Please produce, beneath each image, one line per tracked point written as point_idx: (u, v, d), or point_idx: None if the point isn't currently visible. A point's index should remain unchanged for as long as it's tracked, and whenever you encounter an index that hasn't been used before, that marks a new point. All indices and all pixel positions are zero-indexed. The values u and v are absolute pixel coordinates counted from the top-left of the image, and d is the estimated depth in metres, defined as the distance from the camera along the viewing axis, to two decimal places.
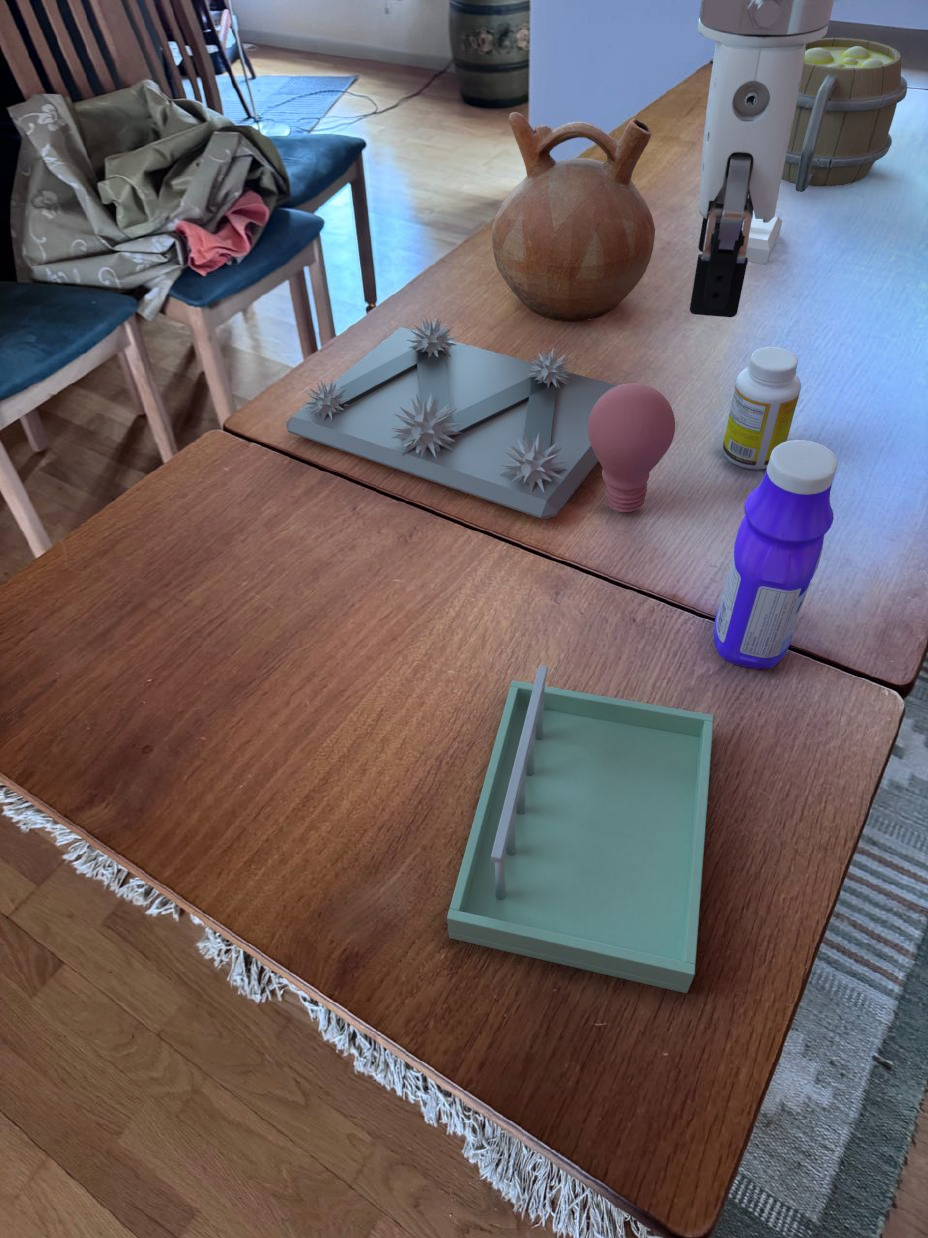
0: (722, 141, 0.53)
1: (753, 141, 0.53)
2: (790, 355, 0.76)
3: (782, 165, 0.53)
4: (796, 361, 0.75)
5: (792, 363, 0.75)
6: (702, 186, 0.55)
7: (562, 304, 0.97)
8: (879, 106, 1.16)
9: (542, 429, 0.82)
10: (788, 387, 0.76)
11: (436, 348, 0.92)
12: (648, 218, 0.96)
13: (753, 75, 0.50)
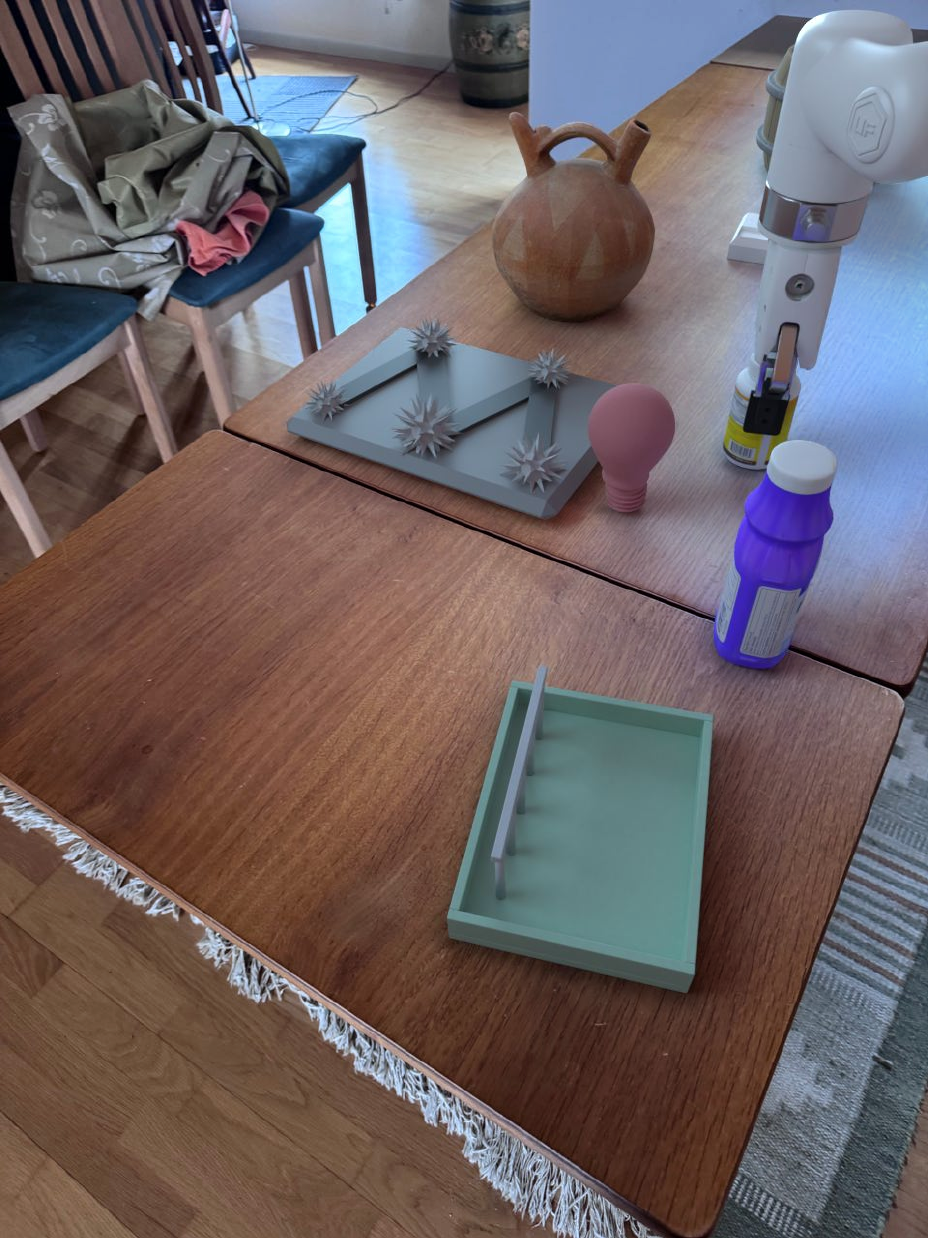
0: (776, 313, 0.68)
1: (798, 323, 0.68)
2: None
3: (822, 331, 0.68)
4: None
5: None
6: (758, 343, 0.71)
7: (562, 304, 0.97)
8: None
9: (542, 429, 0.82)
10: None
11: (436, 348, 0.92)
12: (648, 218, 0.96)
13: (802, 269, 0.66)
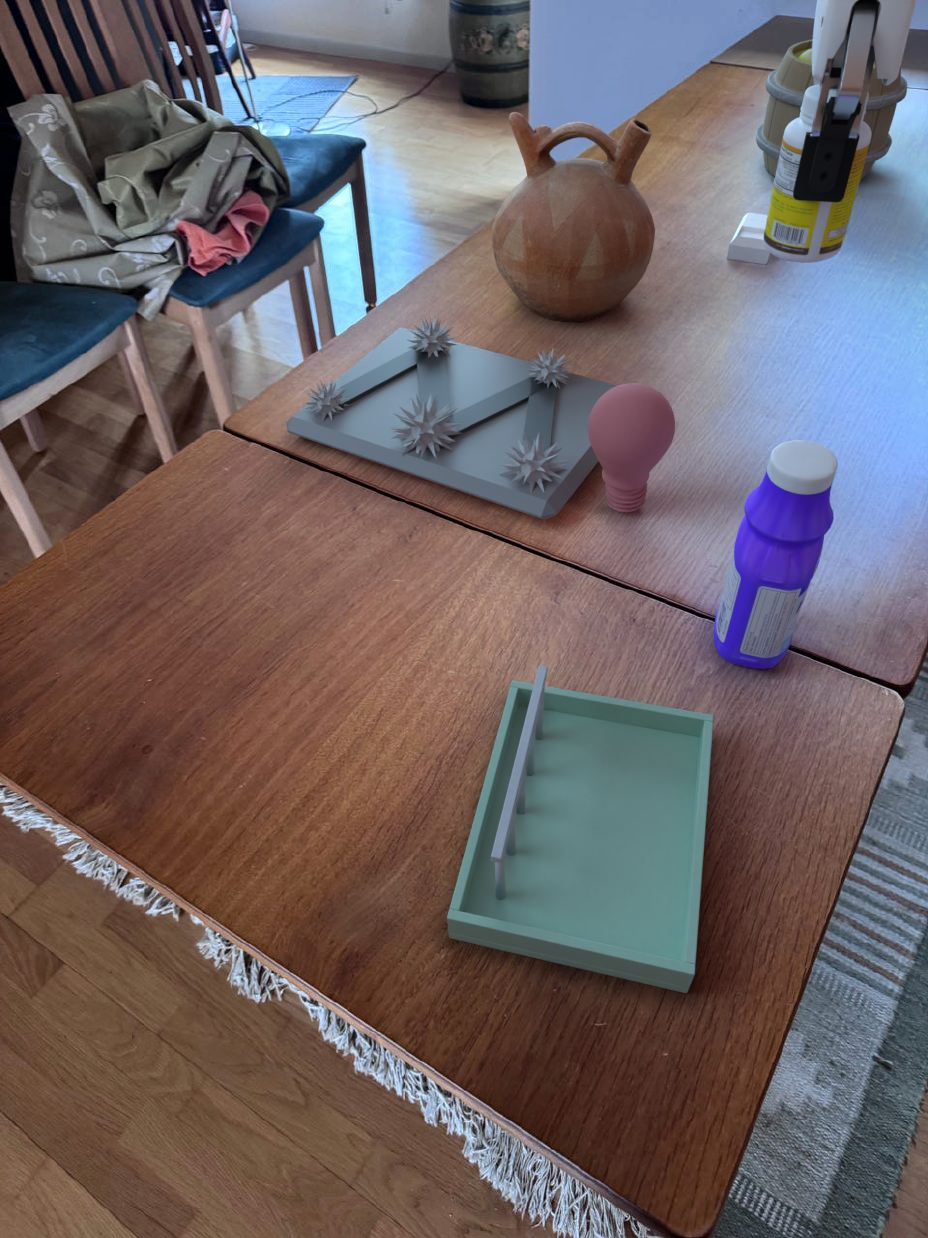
0: None
1: None
2: None
3: (912, 14, 0.49)
4: None
5: None
6: (820, 43, 0.51)
7: (562, 304, 0.97)
8: (879, 106, 1.16)
9: (542, 429, 0.82)
10: None
11: (436, 348, 0.92)
12: (648, 218, 0.96)
13: None
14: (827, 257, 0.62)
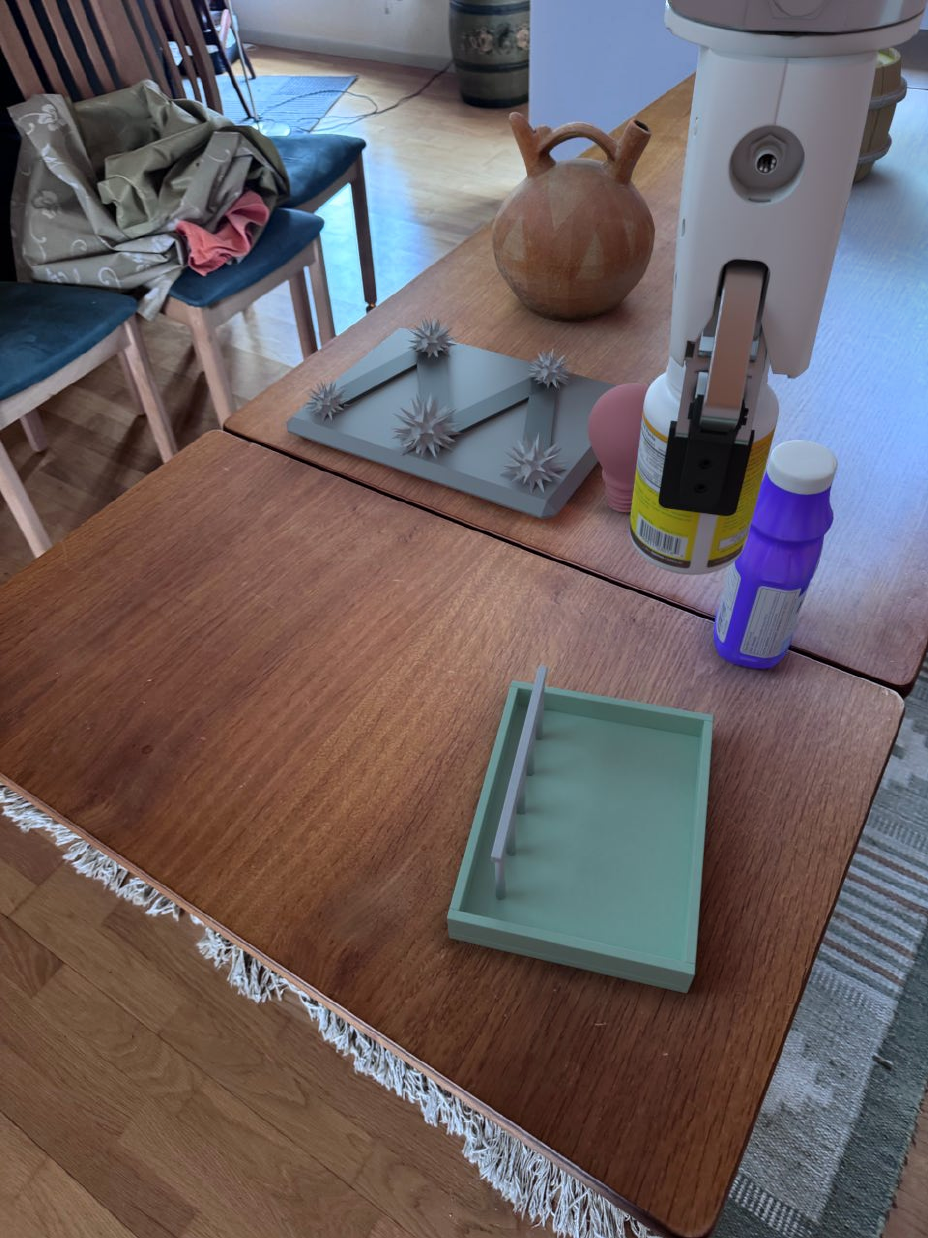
0: (709, 238, 0.27)
1: (766, 262, 0.27)
2: None
3: (826, 284, 0.28)
4: (767, 358, 0.35)
5: None
6: (674, 314, 0.30)
7: (562, 304, 0.97)
8: (879, 106, 1.16)
9: (542, 429, 0.82)
10: None
11: (436, 348, 0.92)
12: (648, 218, 0.96)
13: (771, 114, 0.25)
14: (720, 569, 0.40)
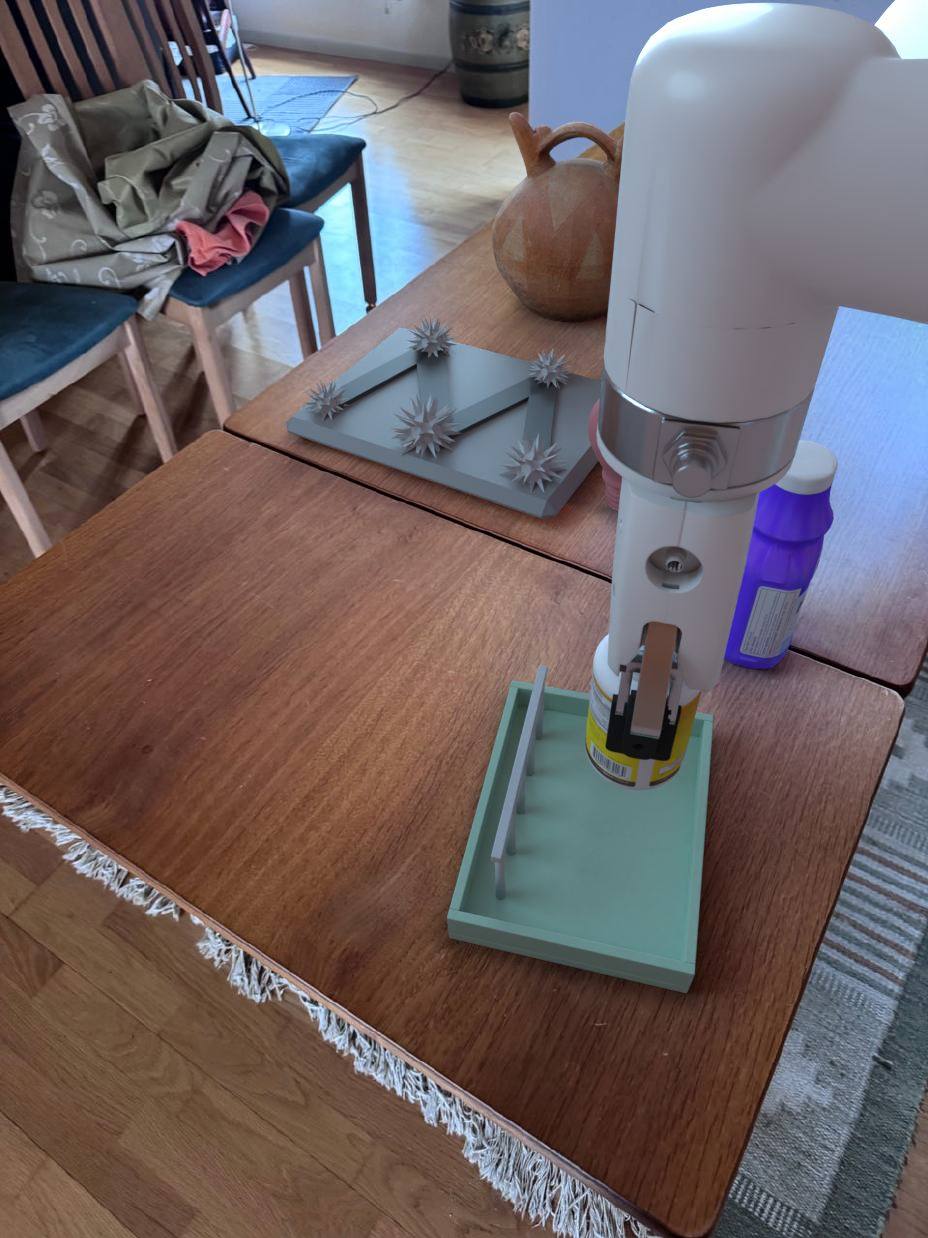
0: (633, 606, 0.34)
1: (677, 628, 0.34)
2: None
3: (726, 639, 0.35)
4: None
5: None
6: (609, 644, 0.37)
7: (562, 304, 0.97)
8: None
9: (542, 429, 0.82)
10: None
11: (436, 348, 0.92)
12: None
13: (676, 540, 0.32)
14: (661, 785, 0.48)
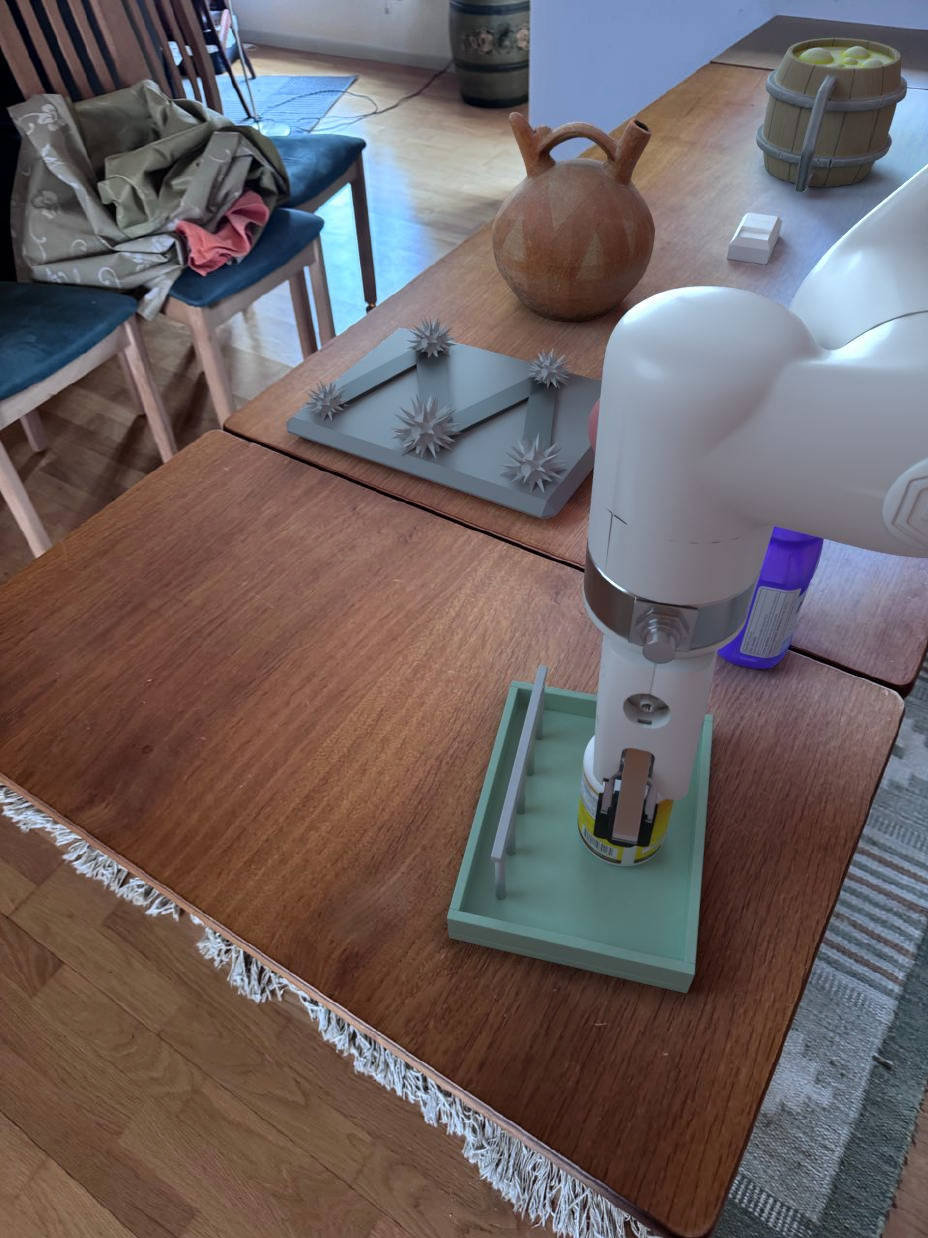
0: (613, 735, 0.41)
1: (651, 754, 0.41)
2: None
3: (692, 762, 0.41)
4: None
5: None
6: (594, 760, 0.43)
7: (562, 304, 0.97)
8: (879, 106, 1.16)
9: (542, 429, 0.82)
10: None
11: (436, 348, 0.92)
12: (648, 218, 0.96)
13: (647, 689, 0.38)
14: None
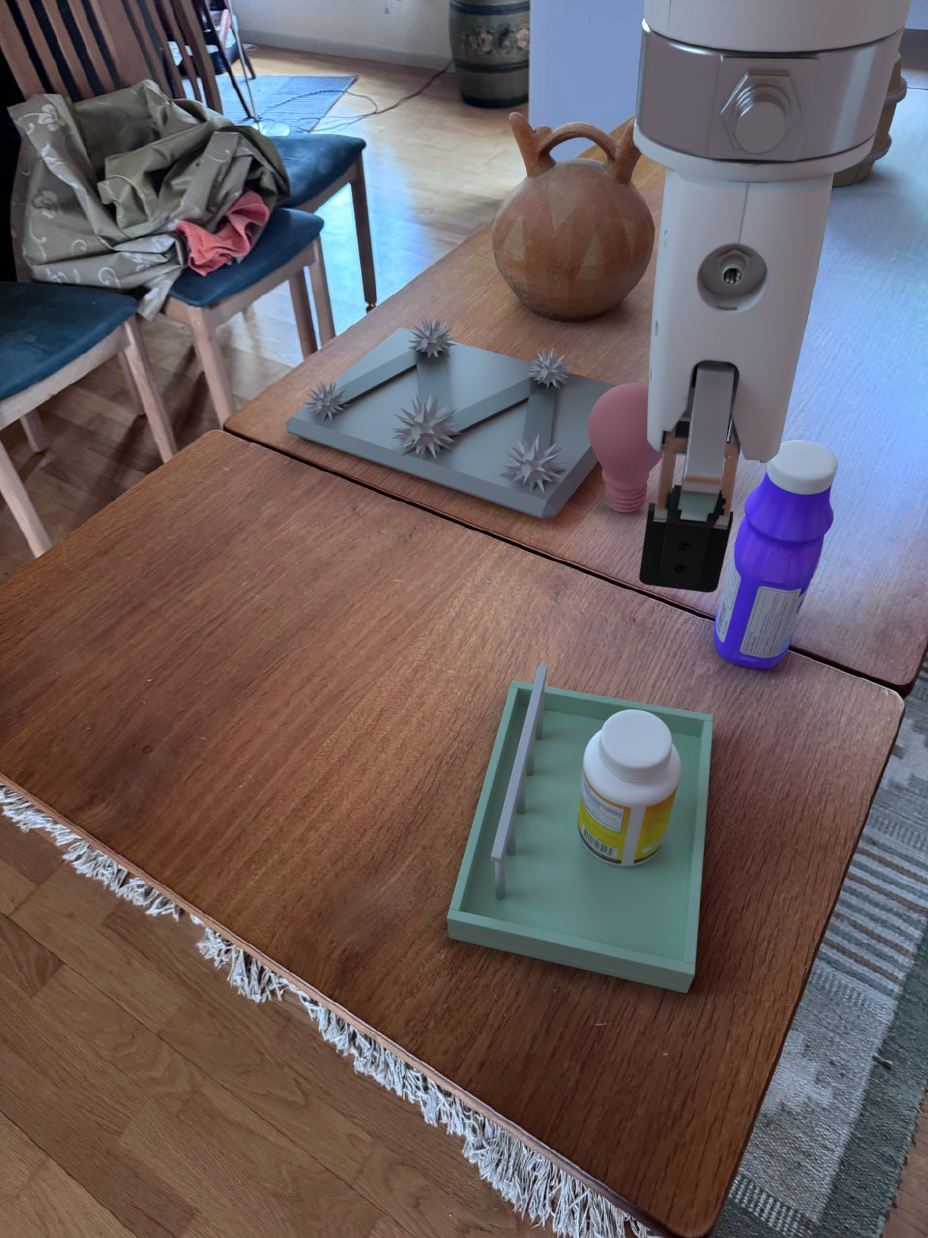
0: (681, 341, 0.29)
1: (738, 344, 0.28)
2: (662, 731, 0.49)
3: (792, 381, 0.29)
4: (669, 746, 0.48)
5: (662, 751, 0.48)
6: (650, 406, 0.31)
7: (562, 304, 0.97)
8: None
9: (542, 429, 0.82)
10: (658, 781, 0.49)
11: (435, 348, 0.92)
12: (648, 218, 0.96)
13: (735, 234, 0.26)
14: (644, 861, 0.54)
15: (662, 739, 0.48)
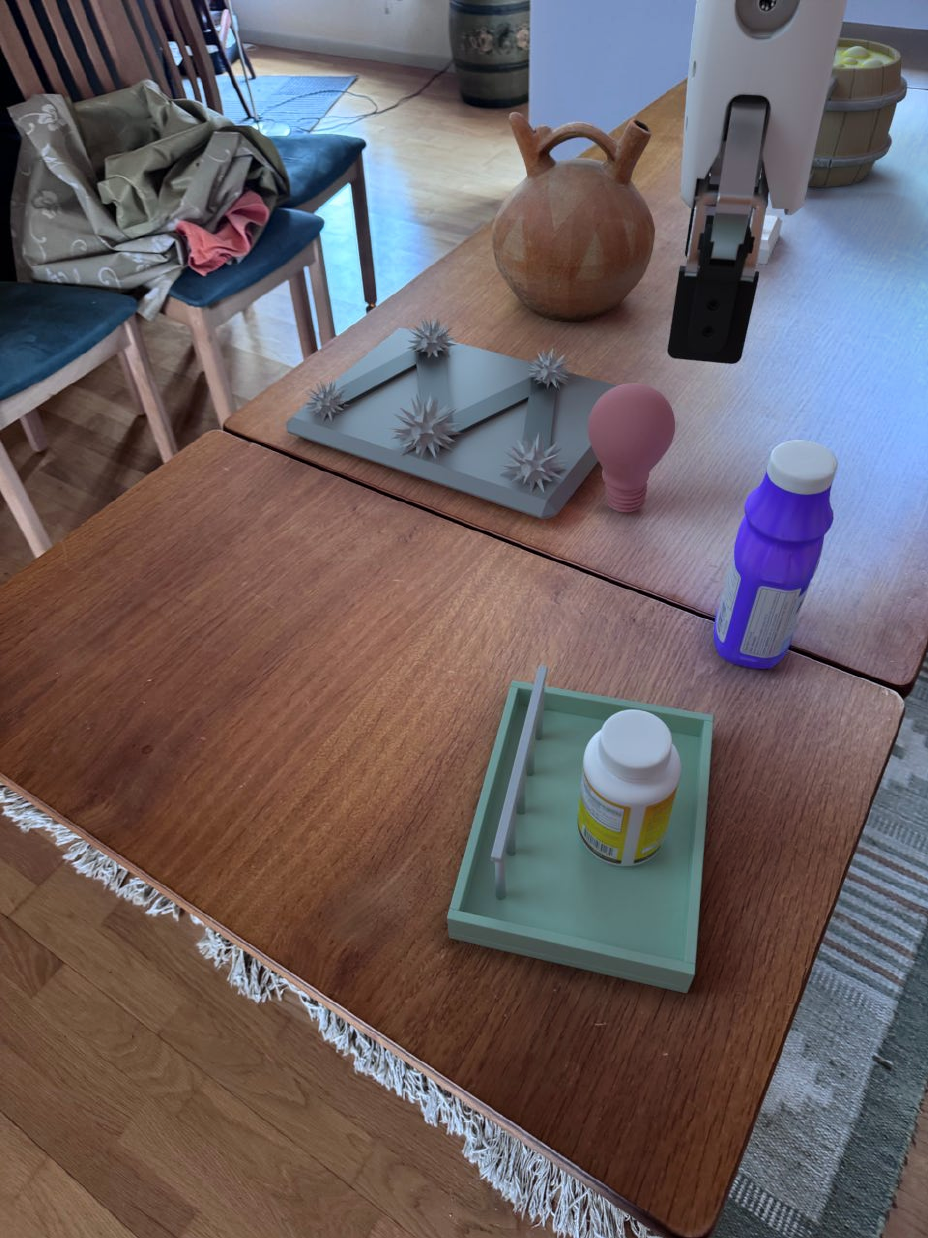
0: (717, 75, 0.31)
1: (770, 75, 0.31)
2: (662, 731, 0.49)
3: (819, 117, 0.32)
4: (669, 746, 0.48)
5: (662, 751, 0.48)
6: (685, 154, 0.34)
7: (562, 304, 0.97)
8: (879, 106, 1.16)
9: (542, 429, 0.82)
10: (658, 781, 0.49)
11: (435, 348, 0.92)
12: (648, 218, 0.96)
13: None
14: (644, 861, 0.54)
15: (662, 739, 0.48)
